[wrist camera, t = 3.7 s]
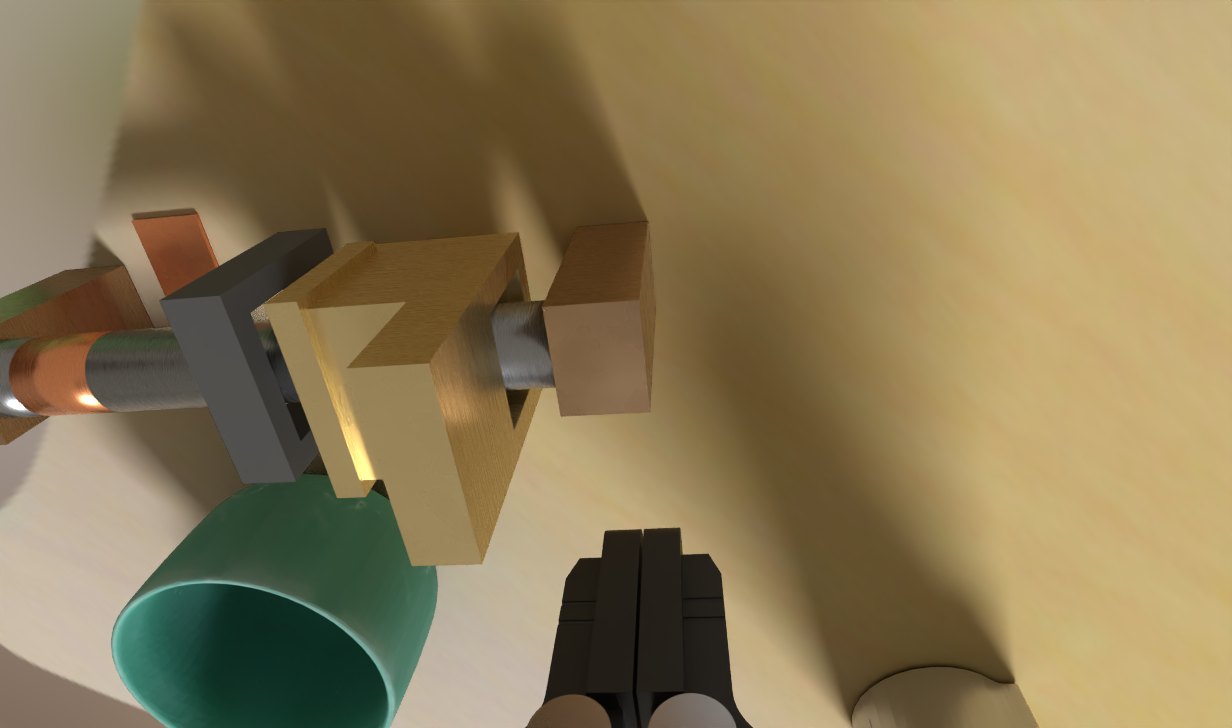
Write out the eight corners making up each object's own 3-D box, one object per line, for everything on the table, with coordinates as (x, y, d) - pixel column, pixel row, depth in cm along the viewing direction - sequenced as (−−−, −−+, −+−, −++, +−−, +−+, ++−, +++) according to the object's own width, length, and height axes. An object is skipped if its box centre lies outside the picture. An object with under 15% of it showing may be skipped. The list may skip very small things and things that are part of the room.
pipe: (643, 172, 27) (632, 236, 19) (659, 350, 30) (654, 460, 23) (43, 228, 30) (-167, 301, 22) (123, 382, 34) (-34, 490, 26)
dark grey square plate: (325, 228, 26) (219, 295, 20) (374, 382, 29) (296, 481, 23) (278, 232, 26) (159, 300, 20) (331, 385, 30) (242, 483, 24)
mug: (268, 401, 34) (134, 532, 25) (493, 508, 36) (438, 661, 27) (198, 598, 41) (76, 749, 33) (388, 676, 43) (319, 837, 35)
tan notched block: (516, 221, 24) (423, 348, 15) (546, 388, 27) (485, 574, 18) (359, 234, 25) (181, 363, 16) (406, 396, 28) (280, 579, 19)
